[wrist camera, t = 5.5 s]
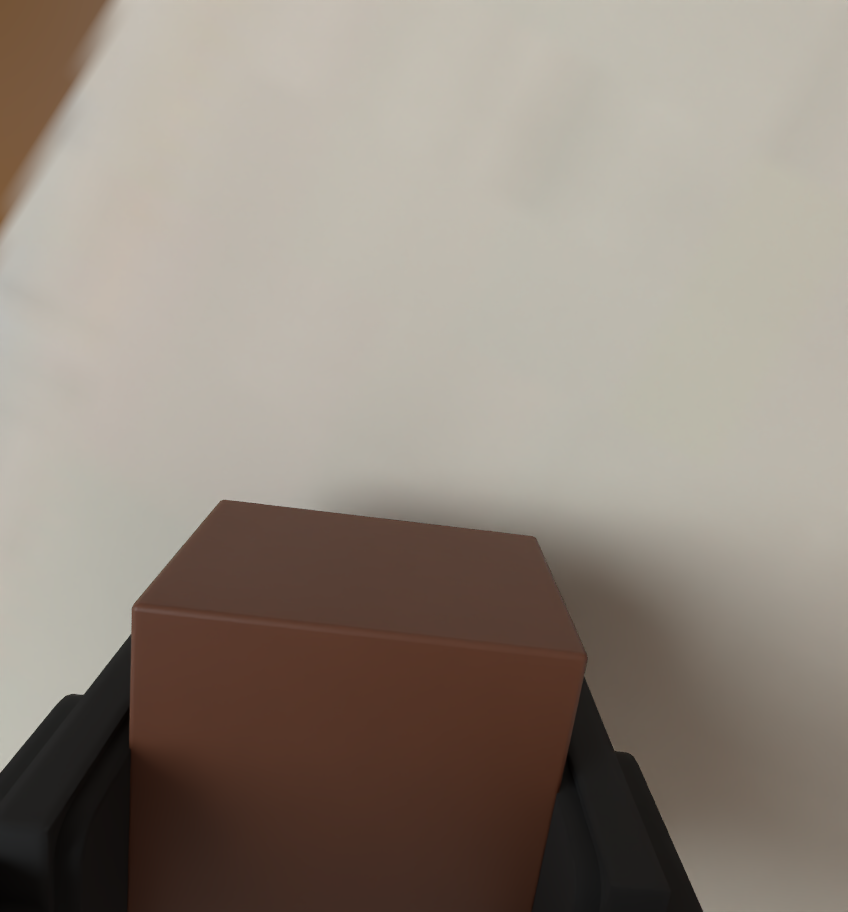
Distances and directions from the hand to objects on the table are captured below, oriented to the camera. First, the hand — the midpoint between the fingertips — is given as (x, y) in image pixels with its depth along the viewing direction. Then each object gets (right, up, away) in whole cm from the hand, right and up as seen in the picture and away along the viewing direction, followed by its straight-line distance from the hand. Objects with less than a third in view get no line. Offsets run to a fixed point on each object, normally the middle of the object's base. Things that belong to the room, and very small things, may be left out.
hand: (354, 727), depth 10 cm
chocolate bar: (0, 0, 0) cm, 0 cm away
